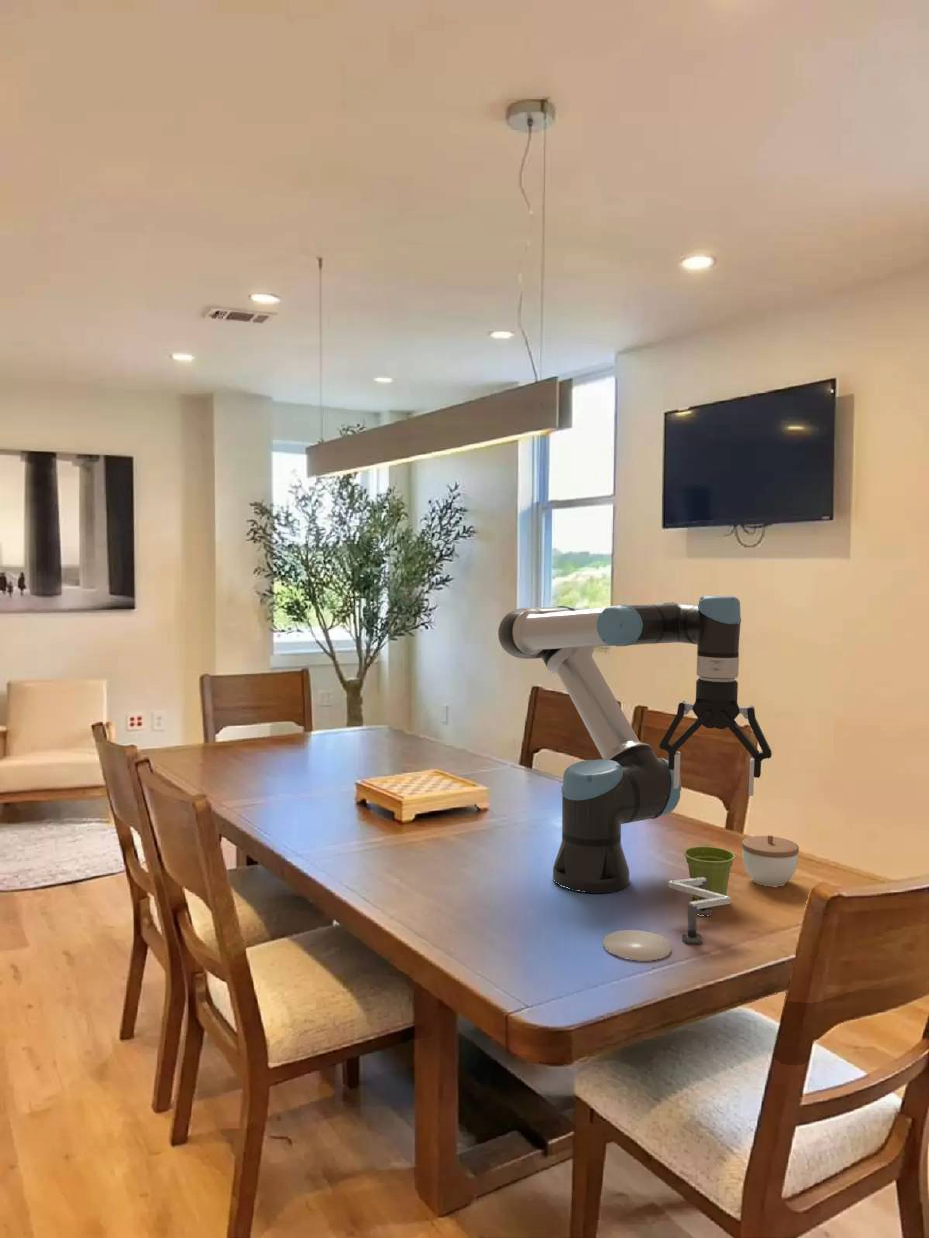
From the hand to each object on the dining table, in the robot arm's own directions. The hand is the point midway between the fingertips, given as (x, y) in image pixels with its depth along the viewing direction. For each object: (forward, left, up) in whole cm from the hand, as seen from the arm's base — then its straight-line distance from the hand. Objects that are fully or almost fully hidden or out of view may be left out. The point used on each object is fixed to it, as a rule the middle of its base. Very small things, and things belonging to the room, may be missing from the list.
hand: (713, 790), depth 171 cm
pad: (-8, -28, -21) cm, 36 cm away
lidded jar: (+10, +13, -21) cm, 26 cm away
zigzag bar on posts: (0, -15, -21) cm, 26 cm away
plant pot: (0, -1, -21) cm, 21 cm away
